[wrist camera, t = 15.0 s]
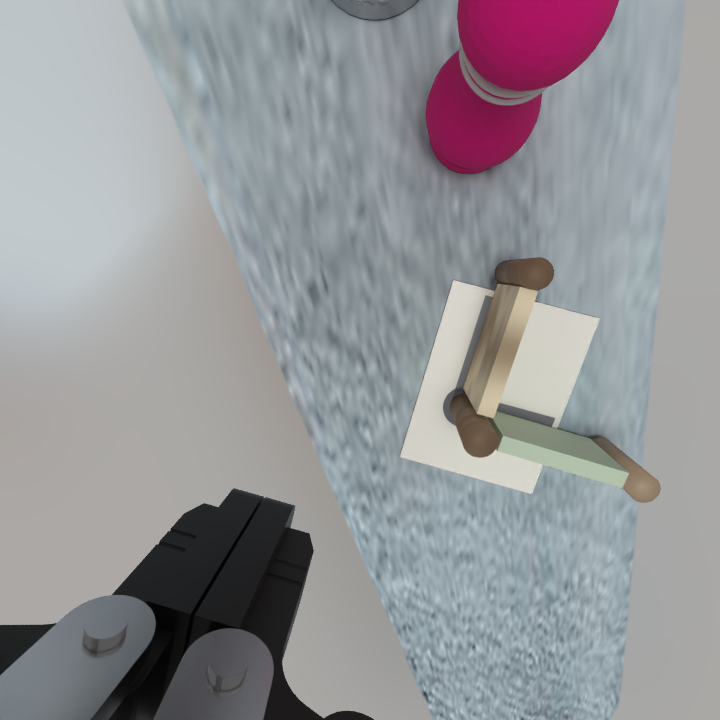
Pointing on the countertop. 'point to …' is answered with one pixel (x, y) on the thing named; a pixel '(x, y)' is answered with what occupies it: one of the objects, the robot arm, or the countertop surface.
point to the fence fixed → (497, 351)
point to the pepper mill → (506, 74)
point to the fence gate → (573, 455)
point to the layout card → (521, 393)
